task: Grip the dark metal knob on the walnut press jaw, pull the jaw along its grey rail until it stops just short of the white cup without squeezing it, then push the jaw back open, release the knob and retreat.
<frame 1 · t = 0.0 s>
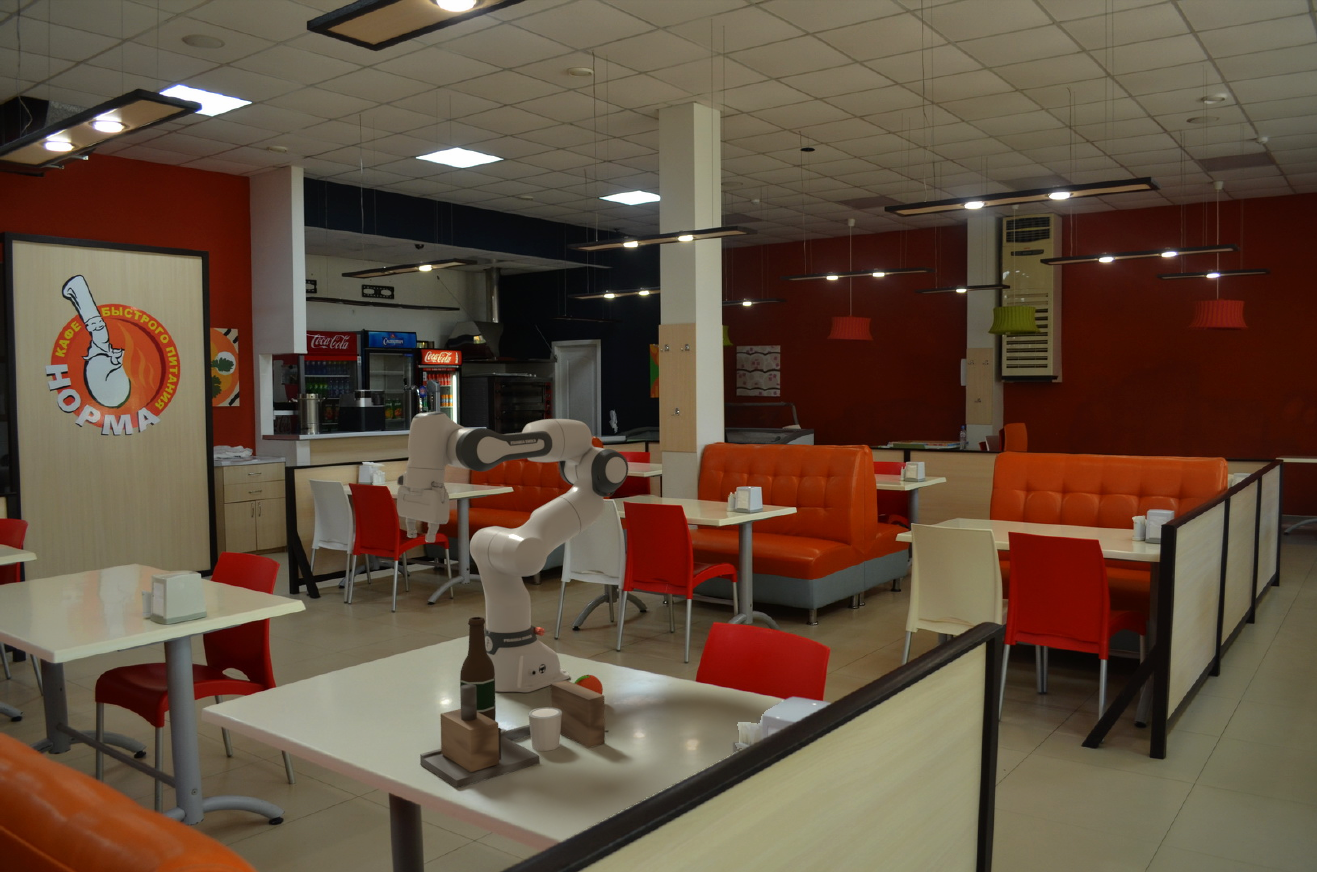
hand: (420, 539, 220), 39 cm above the table, tool pointing down, fingers open, 8 cm apart
beer bottle: (478, 727, 206), on the table
white cup: (545, 746, 195), on the table
press jaw: (470, 722, 184), point 9 cm above the table, slide at 0.0 cm
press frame: (516, 754, 191), on the table
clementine: (586, 706, 220), on the table
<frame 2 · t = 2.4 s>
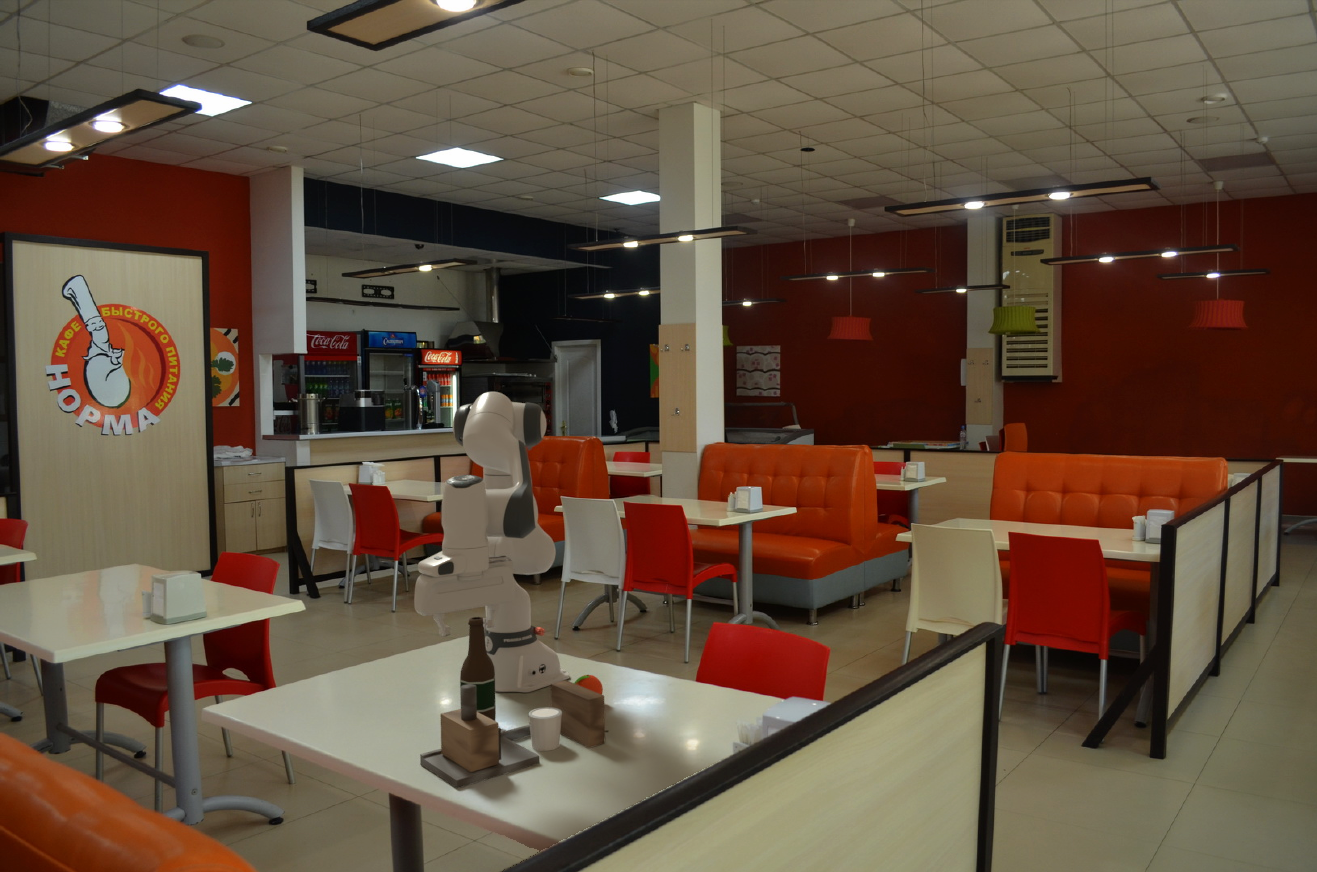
hand: (467, 631, 183), 27 cm above the table, tool pointing down, fingers open, 8 cm apart
nothing on the table moved.
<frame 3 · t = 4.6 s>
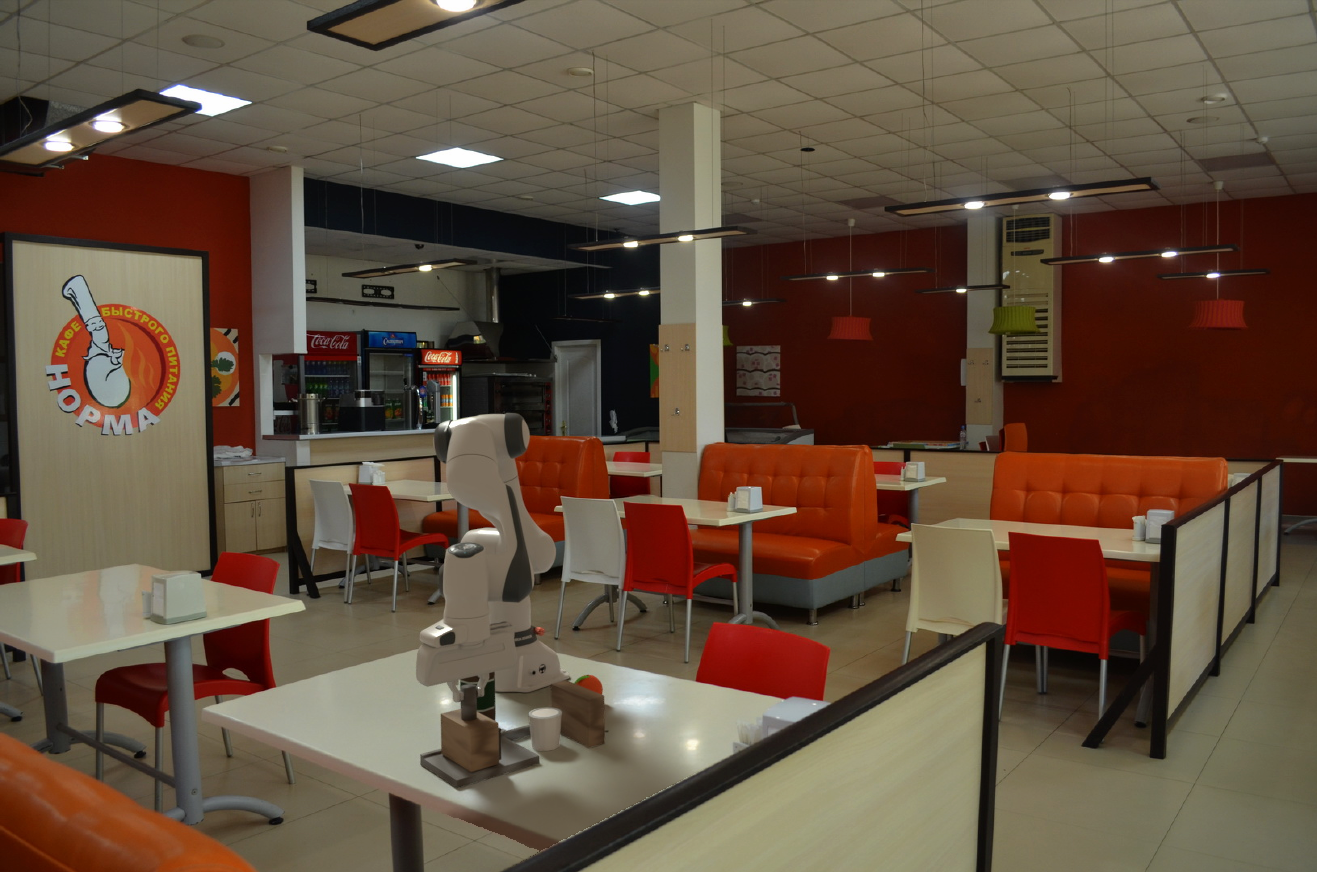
hand: (468, 698, 183), 14 cm above the table, tool pointing down, fingers closed on press jaw, 3 cm apart
press jaw: (471, 722, 184), point 9 cm above the table, slide at 0.0 cm, touching gripper
everything else where it was.
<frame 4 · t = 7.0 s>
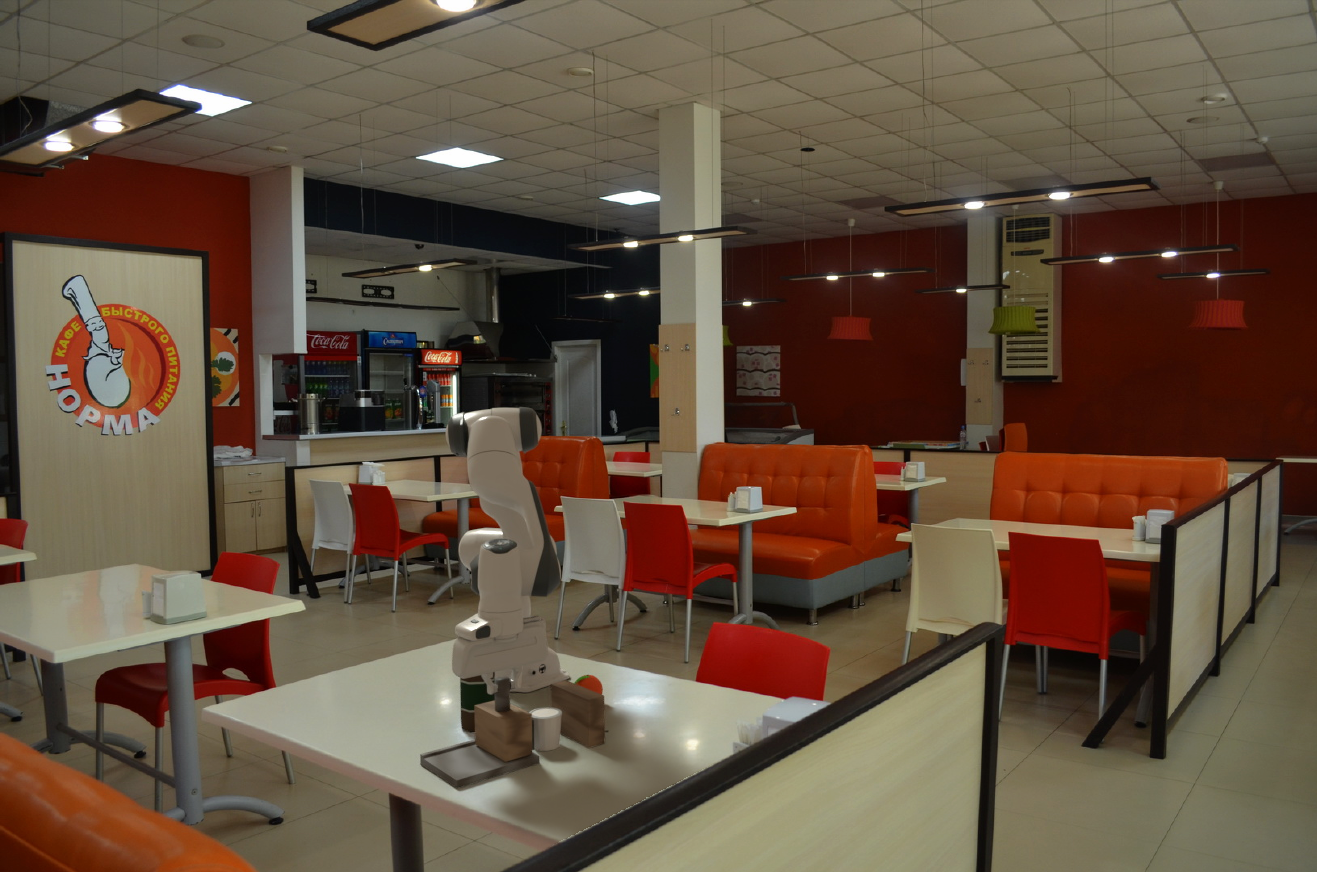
hand: (502, 691, 188), 14 cm above the table, tool pointing down, fingers closed on press jaw, 3 cm apart
press jaw: (504, 713, 188), point 9 cm above the table, slide at 7.5 cm, touching gripper
everything else where it was.
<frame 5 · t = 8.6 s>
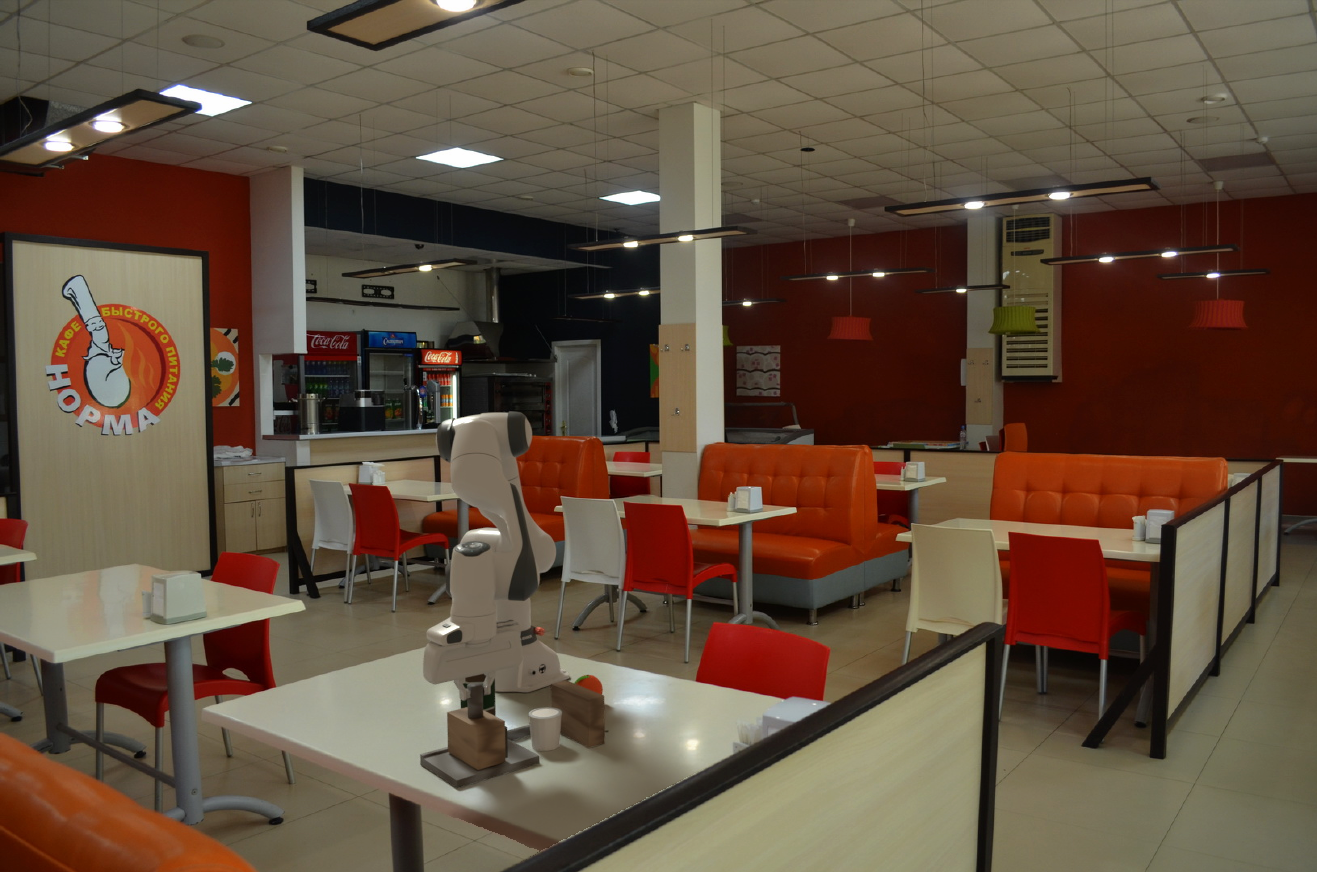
hand: (475, 696, 184), 14 cm above the table, tool pointing down, fingers closed on press jaw, 3 cm apart
press jaw: (477, 720, 185), point 9 cm above the table, slide at 1.4 cm, touching gripper
everything else where it was.
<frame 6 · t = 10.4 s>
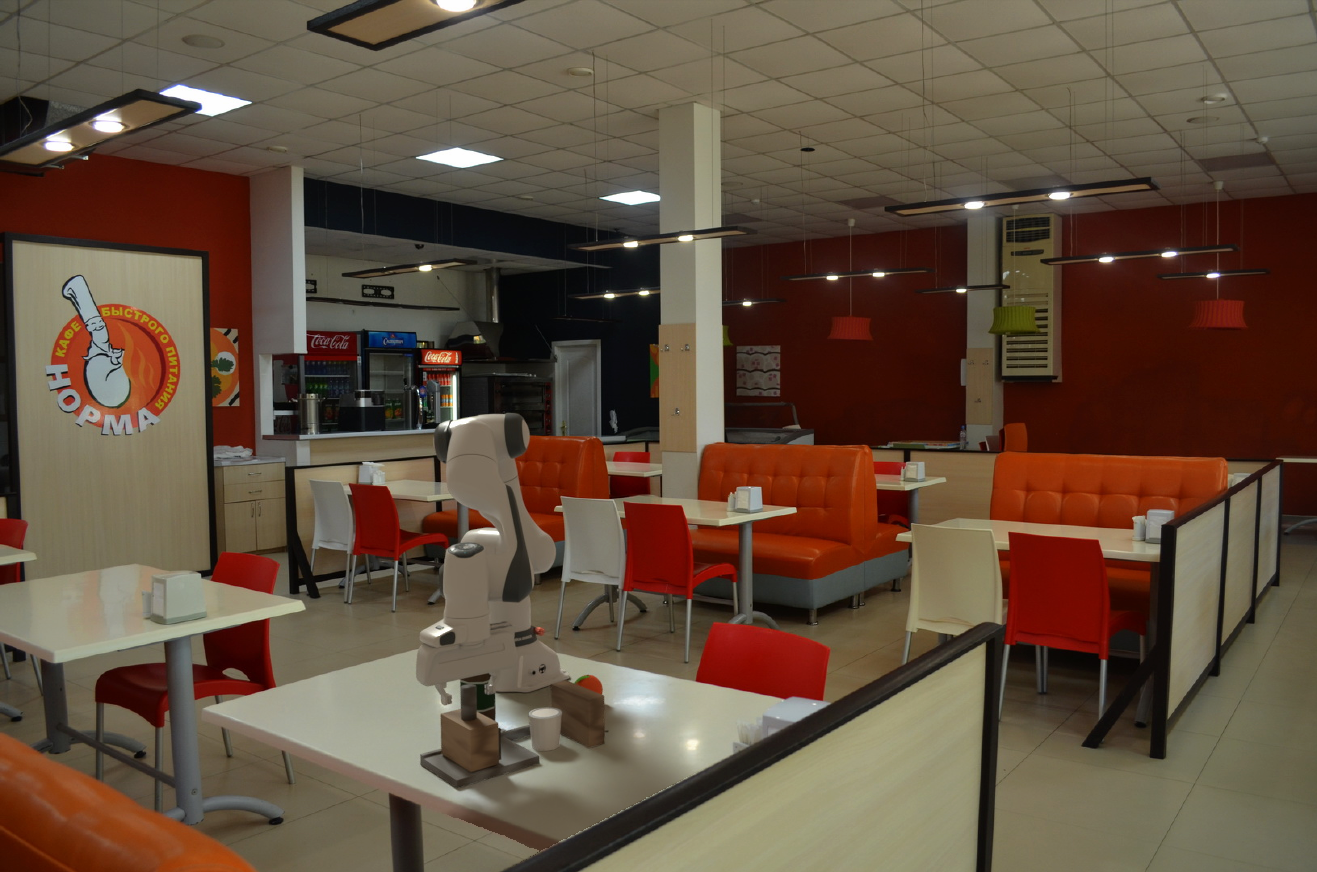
hand: (468, 698, 183), 14 cm above the table, tool pointing down, fingers open, 8 cm apart
press jaw: (470, 722, 184), point 9 cm above the table, slide at 0.0 cm
everything else where it was.
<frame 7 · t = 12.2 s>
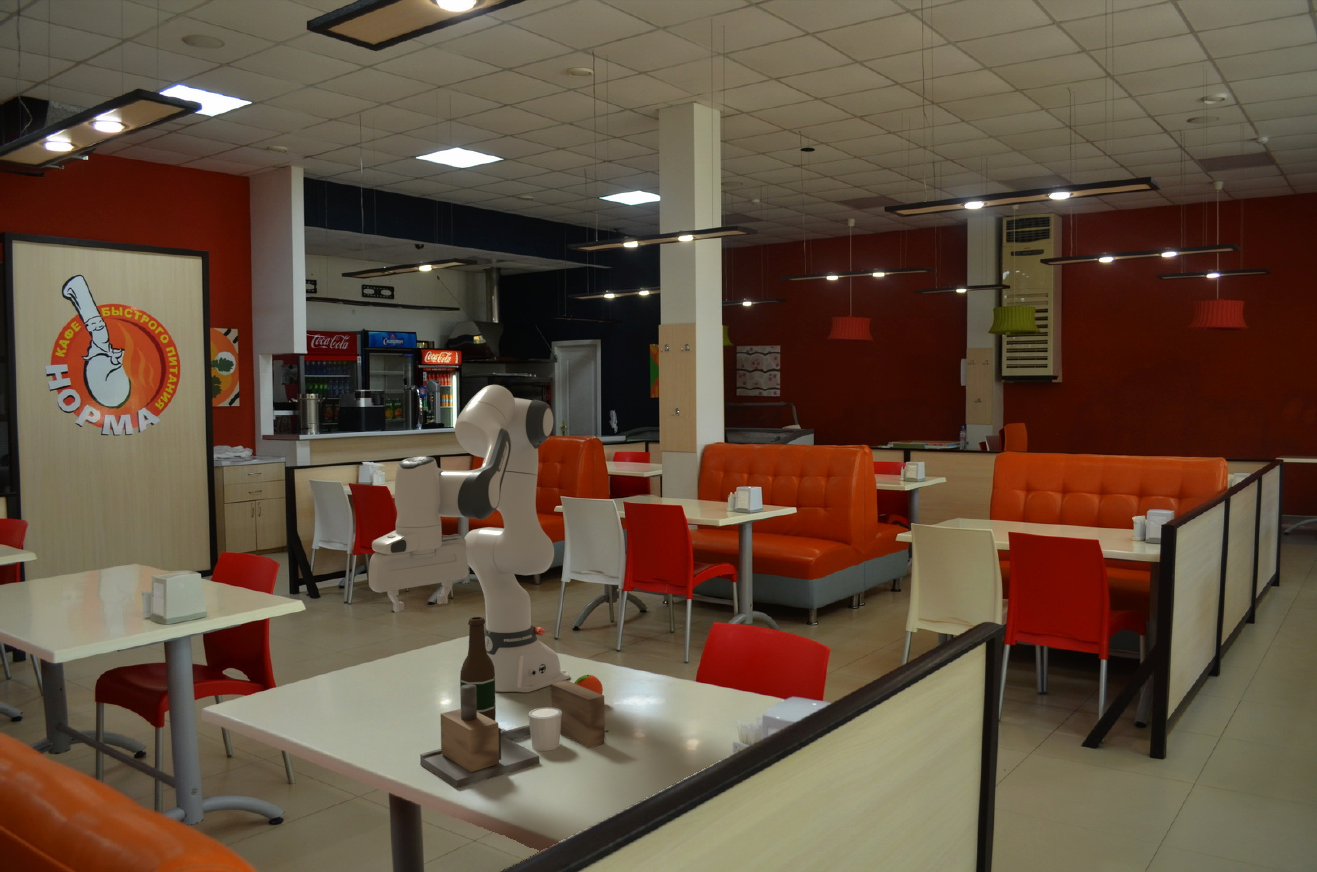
hand: (421, 607, 189), 30 cm above the table, tool pointing down, fingers open, 8 cm apart
nothing on the table moved.
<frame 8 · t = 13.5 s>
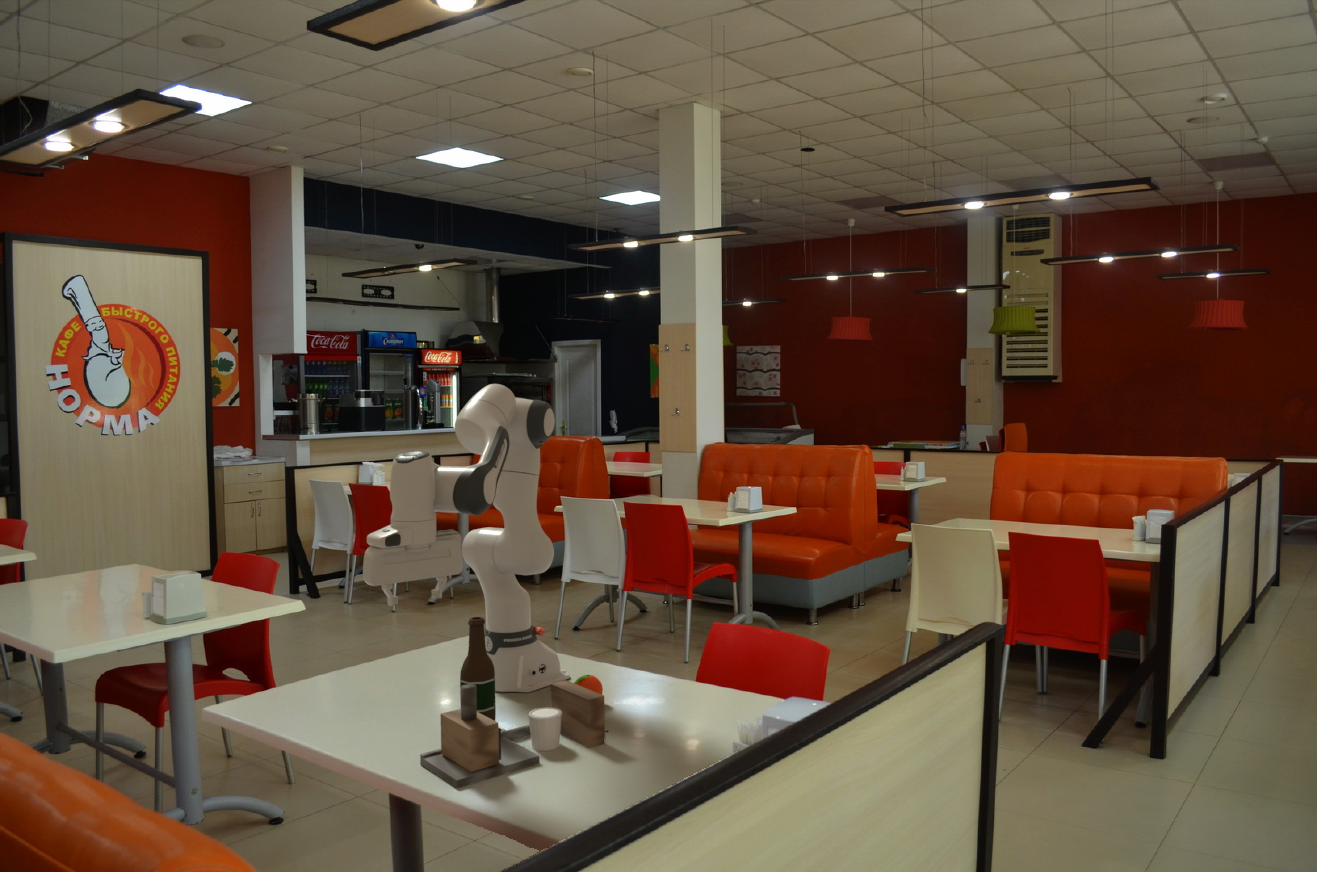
hand: (415, 601, 189), 31 cm above the table, tool pointing down, fingers open, 8 cm apart
nothing on the table moved.
at the end: press jaw slide at 0.0 cm; white cup moved 0.2 cm from its start; the gripper is holding nothing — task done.
